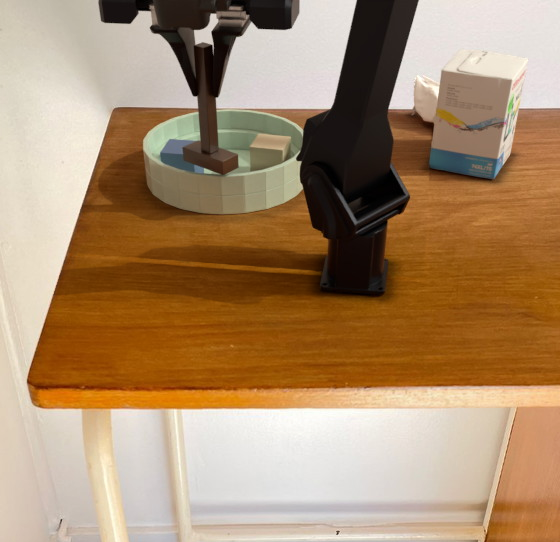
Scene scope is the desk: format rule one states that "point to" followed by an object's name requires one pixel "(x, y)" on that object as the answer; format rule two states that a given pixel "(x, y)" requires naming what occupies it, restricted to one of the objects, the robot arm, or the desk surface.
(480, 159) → the ink box
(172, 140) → the slate block
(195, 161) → the block-headed hammer
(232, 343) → the desk surface
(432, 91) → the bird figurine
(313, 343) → the desk surface
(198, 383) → the desk surface
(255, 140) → the cream block
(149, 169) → the bowl
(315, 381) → the desk surface
